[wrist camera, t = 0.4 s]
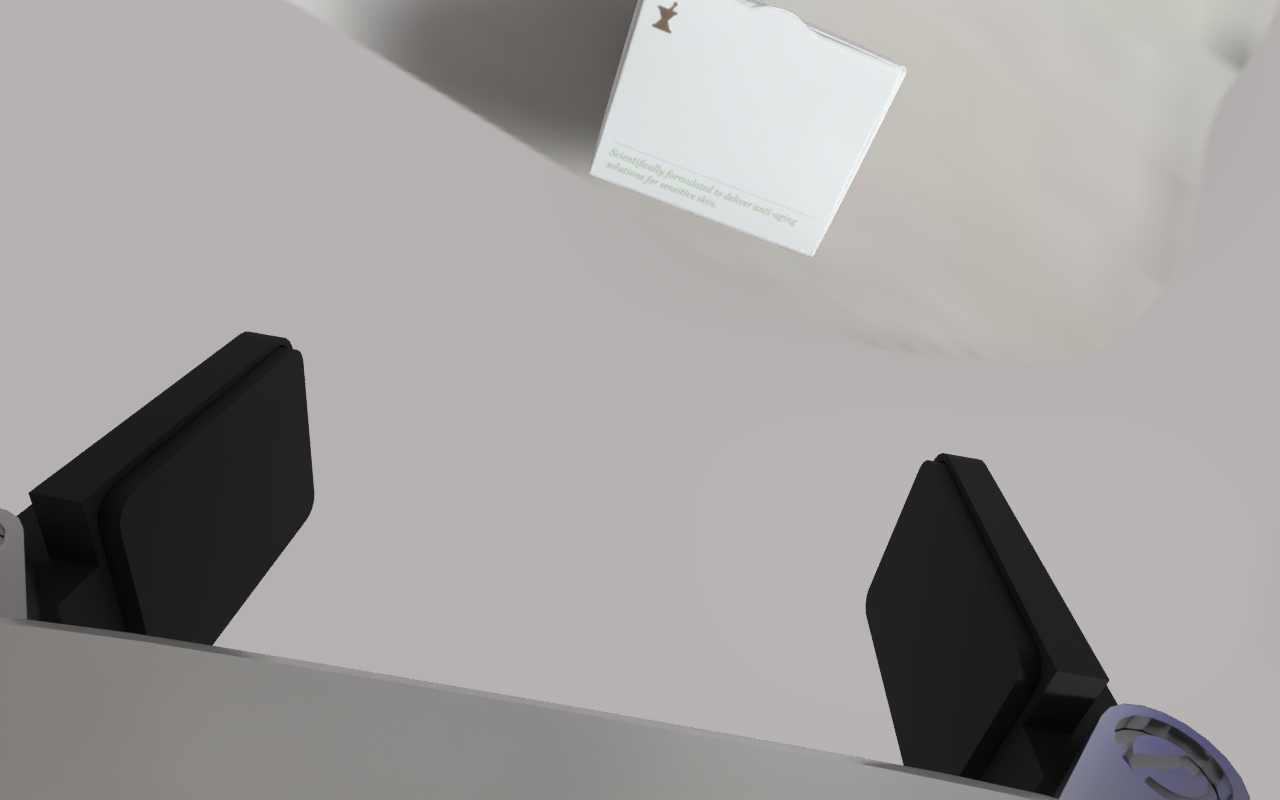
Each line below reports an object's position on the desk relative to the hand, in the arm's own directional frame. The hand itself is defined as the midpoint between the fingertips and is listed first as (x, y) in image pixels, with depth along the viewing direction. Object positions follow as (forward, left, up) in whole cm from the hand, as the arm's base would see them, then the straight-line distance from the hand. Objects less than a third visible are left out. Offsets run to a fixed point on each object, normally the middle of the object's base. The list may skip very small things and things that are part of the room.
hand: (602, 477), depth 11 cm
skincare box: (-3, +2, -30) cm, 31 cm away
